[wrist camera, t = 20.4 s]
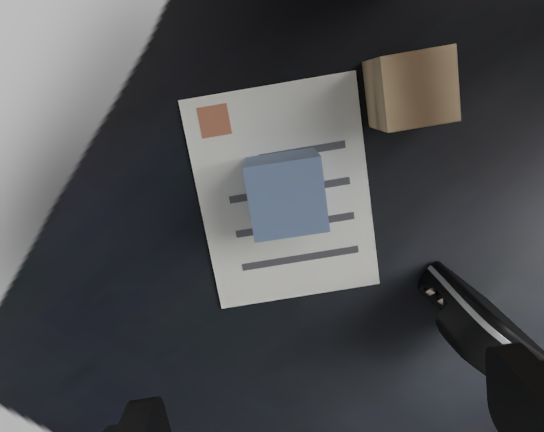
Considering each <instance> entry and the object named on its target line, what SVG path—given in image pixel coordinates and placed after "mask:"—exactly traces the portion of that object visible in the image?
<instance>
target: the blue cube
mask: <svg viewBox="0 0 544 432" xmlns="http://www.w3.org/2000/svg"><path fill="white" fill-rule="evenodd" d="M242 169H243V175H244V181H245V187H246V193H247V199H248V205H249V211H250V217H251V224H252V230H253V236H254V242H255V243H257V242H264V241H271V240H278V239H285V238H291V237H298V236H305V235H312V234H319V233H326V232H330V226H329V218H328V209H327V201H326V193H325V184H324V176H323V168H322V160H321V156H320V154H319V153H318V152H317V151H316V150H315V149H314V148H313V147H312V148H305V149H298V150H292V151H285V152H278V153H272V154H265V155H258V156H251V157H245V161H244V164H243V168H242Z"/></svg>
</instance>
